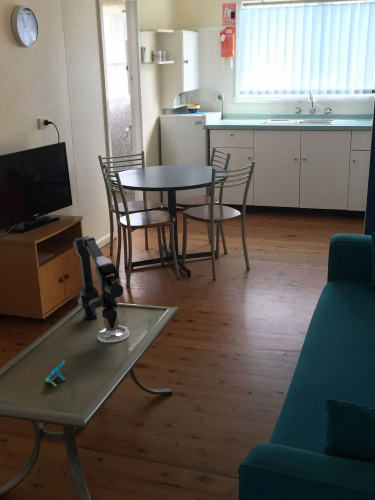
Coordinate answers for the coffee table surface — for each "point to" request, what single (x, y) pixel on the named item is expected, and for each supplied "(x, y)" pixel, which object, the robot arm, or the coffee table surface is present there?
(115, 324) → the vase
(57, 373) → the blue green rod structure
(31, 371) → the coffee table surface
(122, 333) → the rosette plate
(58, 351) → the coffee table surface
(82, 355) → the coffee table surface
